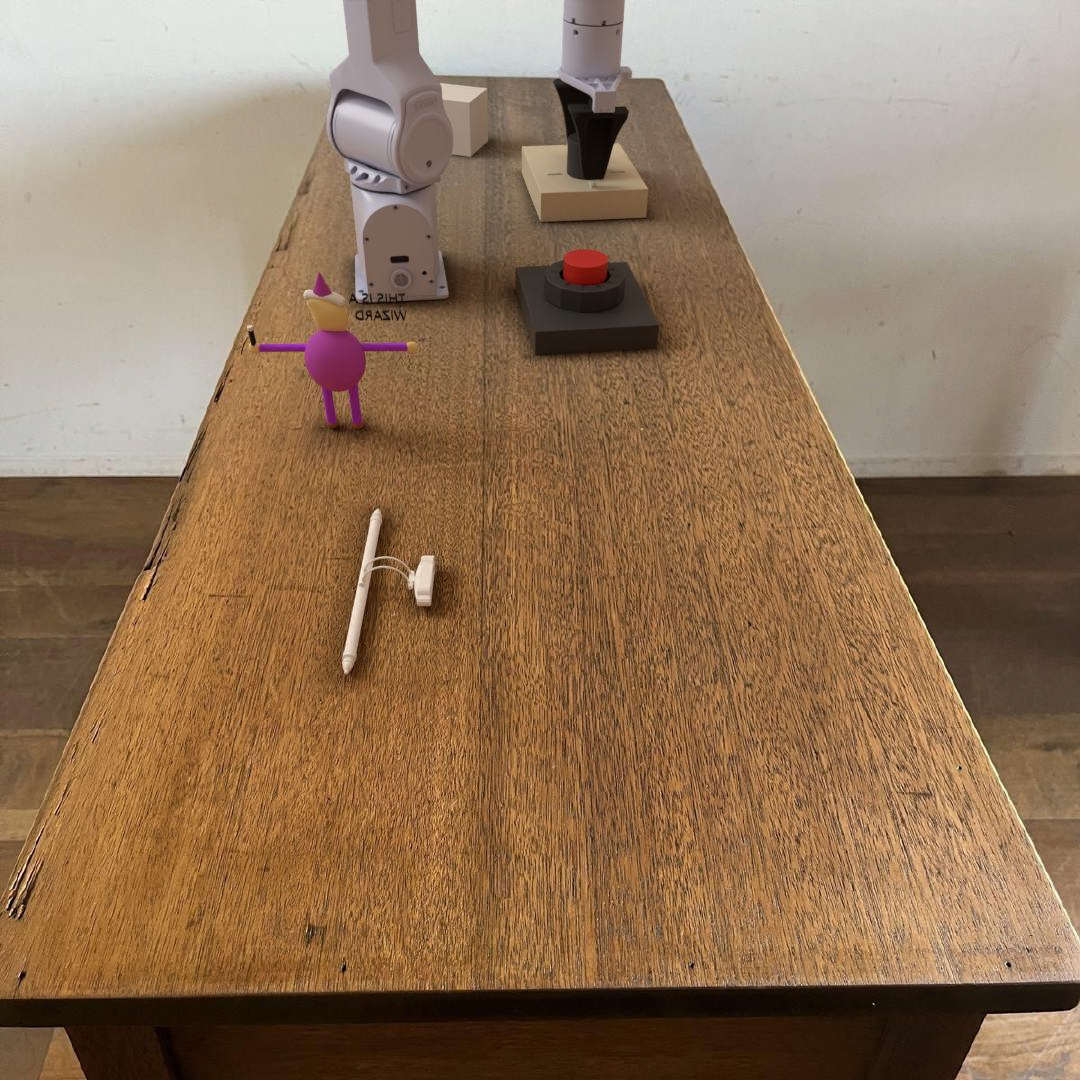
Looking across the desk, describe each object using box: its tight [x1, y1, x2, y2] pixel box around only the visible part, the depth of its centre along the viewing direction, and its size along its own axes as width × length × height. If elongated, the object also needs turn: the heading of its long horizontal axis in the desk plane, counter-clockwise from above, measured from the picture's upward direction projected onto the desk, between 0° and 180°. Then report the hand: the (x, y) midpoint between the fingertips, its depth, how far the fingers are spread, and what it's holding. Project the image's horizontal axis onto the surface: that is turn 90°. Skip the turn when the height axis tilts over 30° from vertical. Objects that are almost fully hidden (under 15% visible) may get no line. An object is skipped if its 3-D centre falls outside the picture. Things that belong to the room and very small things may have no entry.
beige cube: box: [439, 82, 489, 158], centre depth 115 cm, size 6×6×6 cm
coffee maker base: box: [514, 259, 660, 356], centre depth 82 cm, size 12×10×4 cm
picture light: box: [341, 508, 436, 675], centre depth 56 cm, size 14×4×2 cm, turn 0°
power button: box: [563, 248, 609, 286], centre depth 81 cm, size 4×4×2 cm
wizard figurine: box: [246, 271, 419, 430], centre depth 66 cm, size 11×3×12 cm, turn 92°
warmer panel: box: [521, 142, 649, 223], centre depth 104 cm, size 14×11×3 cm
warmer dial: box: [567, 133, 583, 179], centre depth 101 cm, size 4×4×4 cm
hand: (586, 165), depth 101 cm, fingers open, 7 cm apart
